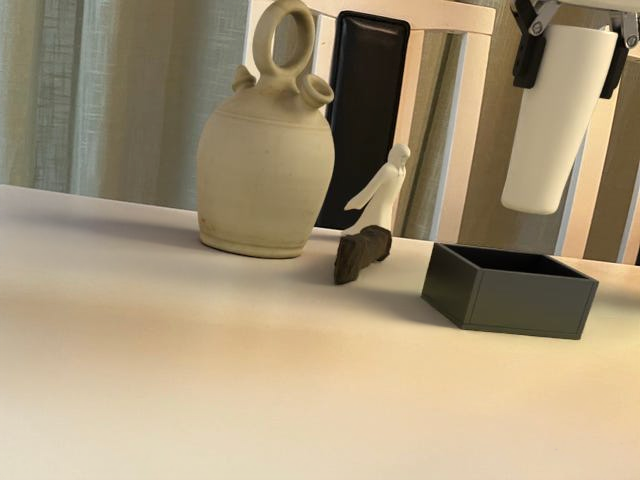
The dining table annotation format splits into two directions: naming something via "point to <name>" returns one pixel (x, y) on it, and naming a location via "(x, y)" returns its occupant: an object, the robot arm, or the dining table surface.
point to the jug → (267, 150)
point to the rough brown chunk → (361, 252)
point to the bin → (508, 291)
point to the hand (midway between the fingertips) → (561, 91)
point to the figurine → (380, 192)
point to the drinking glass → (556, 116)
